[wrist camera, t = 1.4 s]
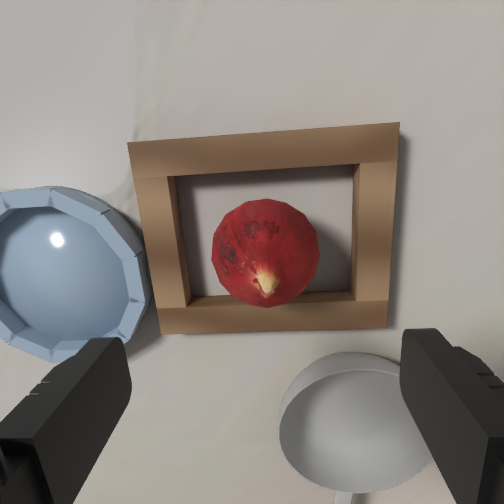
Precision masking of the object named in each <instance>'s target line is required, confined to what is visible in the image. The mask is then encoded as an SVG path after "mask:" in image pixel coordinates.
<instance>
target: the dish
mask: <svg viewBox="0 0 504 504" xmlns="http://www.w3.org/2000/svg"><path fill="white" fill-rule="evenodd" d="M152 290H153V286H152V280H151V275H150V269H149V263H148V258H147V252H146V248H145V246H144V244H143V242H142V240H141V238H140V237H139V235H138V234H137V232H136V231H135V229H134V228H133V227H132V226H131V224H130V223H129V222H128V221H127V220H126V219H125V218H124V217H123V216H122V215H121V214H120V213H119V212H118V211H117V210H115V209H114V208H113V207H111V206H110V205H108V204H107V203H106V202H104V201H102V200H100V199H99V198H97V197H95V196H93V195H90V194H87V193H86V192H83V191H80V190H76V189H72V188H67V187H61V186H60V187H59V186H45V187H37V188H29V189H15V190H9V191H4V192H0V337H1V338H2V339H3V340H4V341H5V342H6V343H8V342H9V344H8V345H11V346H13V347H15V348H18V349H20V350H22V351H25V352H27V353H30V354H32V355H34V356H37V357H39V358H41V359H44V360H46V361H49V362H51V361H52V363H58V362H63V361H65V360H66V359H68V358H69V357H71V356H74V355H75V354H76V353H77V352H78V351H79V350H80V349H81V348H82V347H83V346H84V345H85V344H86V343H87V342H88V341H89V340H90V339H91V338H96V337H119V338H121V340H122V341H123V344H125V343H126V342H128V341H129V340H130V339H131V337H132V336H133V334H134V333H135V332H136V330H137V328H138V326H139V323H140V321H141V319H142V317H143V316H144V314H145V312H146V310H147V308H148V306H149V303H150V300H151V295H152Z"/></svg>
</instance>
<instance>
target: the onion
mask: <svg viewBox="0 0 504 504" xmlns="http://www.w3.org/2000/svg"><path fill="white" fill-rule="evenodd" d="M319 257H320V254H319V247H318V241H317V236H316V231H315V229H314V228H313V226H312V225H311V223H310V222H309V221H308V219H307V218H306V216H305V215H304V214H303V213H301V212H300V211H298V210H297V209H295V208H293V207H292V206H290V205H288V204H287V203H284V202H280V201H276V200H271V199H261V200H255V201H248V202H245V203H244V204H242V205H240V206H239V207H237V208H236V209H234V210H232V211H231V212H229V213H227V214H226V215H225V217H224V218H223V220H222V222H221V223H220V225H219V226H218V228H217V230H216V231H215V233H214V237H213V246H212V259H211V260H212V263H213V265H214V268H215V270H216V273H217V275H218V278H219V281H220V283H221V284H222V285H223V286H224V287H225V288H226V290H227V291H228V292H229V293H230V294H231V295H232V296H233V297H234V298H236V299H238V300H240V301H242V302H244V303H246V304H248V305H252V306H258V307H264V308H270V307H275V306H279V305H283V304H286V303H288V302H289V301H291V300H292V299H294V298H295V297H297V296H298V295H300V294H301V293H302V292H303V291H304V290H305V288H306V287H307V286H308V284H309V283H310V281H311V280H312V279H313V277H314V275H315V272H316V268H317V264H318V260H319Z"/></svg>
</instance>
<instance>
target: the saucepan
mask: <svg viewBox="0 0 504 504" xmlns="http://www.w3.org/2000/svg"><path fill="white" fill-rule="evenodd" d="M399 374H400V366H398V365H396V364H394V363H392V362H391V361H388V360H386V359H384V358H381V357H378V356H375V355H371V354H366V353H360V352H341V353H334V354H331V355H327V356H325V357H322V358H320V359H318V360H316V361H315V362H313V363H312V364H310V365H309V366H308V367H306V368H305V369H304V370H303V371H302V372H301V373H300V374H299V375H297V376H296V378H295V379H294V380H293V382H292V383H291V385H290V386H289V387H288V389H287V390H286V393H285V395H284V397H283V399H282V403H281V407H280V412H279V418H278V441H279V446H280V449H281V452H282V454H283V456H284V458H285V460H286V461H287V462H288V464H289V465H290V466H291V468H292V469H293V470H294V471H296V472H297V473H298V474H299V475H300V476H301V477H303V478H304V479H306V480H307V481H309V482H311V483H313V484H315V485H317V486H319V487H322V488H325V489H329V490H332V491H335V494H334V500H333V504H351V503H352V498H353V493H371V492H376V491H381V490H385V489H388V488H391V487H394V486H397V485H399V484H401V483H403V482H405V481H407V480H409V479H410V478H412V477H413V476H414V475H416V474H417V473H419V472H420V471H421V470H422V469H423V468H424V467H425V466H426V465H427V464H428V463H429V461H430V460H431V458H432V455H431V453H430V451H429V449H428V447H427V445H426V443H425V441H424V439H423V437H422V435H421V433H420V431H419V429H418V427H417V425H416V423H415V421H414V420H413V418H412V416H411V414H410V412H409V410H408V408H407V406H406V404H405V402H404V400H403V397H402V394H401V389H400V382H399Z"/></svg>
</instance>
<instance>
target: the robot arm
mask: <svg viewBox="0 0 504 504" xmlns="http://www.w3.org/2000/svg"><path fill="white" fill-rule="evenodd" d="M399 382H400V389H401V394H402V397H403V400H404V402H405V404H406V406H407V408H408V410H409V412H410V414H411V416H412V418H413V420H414V421H415V423H416V425H417V427H418V429H419V431H420V433H421V435H422V437H423V439H424V441H425V443H426V445H427V447H428V449H429V451H430V453H431V455H432V457H433V458H434V460H435V462H436V464H437V466H438V468H439V470H440V472H441V474H442V476H443V478H444V480H445V482H446V484H447V486H448V488H449V490H450V492H451V493H452V495H453V497H454V499H455V501H456V503H457V504H504V383H503V382H502V381H501V380H500V379H499V378H498V377H497V376H494V373H493V372H492V371H491V370H490V368H489V367H488V366H487V365H486V364H485V363H484V362H483V361H482V360H481V359H480V358H478V357H476V356H475V355H473V354H471V353H470V352H468V351H466V350H465V349H463V348H461V347H453V346H452V345H451V344H450V343H449V342H448V341H447V340H446V339H445V337H444V336H443V335H442V334H441V333H440V332H439V331H438V330H437V329H435V328H424V329H405V330H404V332H403V336H402V348H401V361H400V374H399ZM131 390H132V382H131V377H130V372H129V368H128V363H127V358H126V353H125V349H124V344H123V341H122V340H121V338H119V337H96V338H91V339H90V340H89V341H88V342H87V343H86V344H85V345H84V346H83V347H82V348H81V349H80V350H79V351H78V352H77V353H76V354H75V355H74V356H71V357H69V358H68V359H66V360H65V361H63V362H62V363H60V364H59V365H57V366H55V367H54V368H53V369H52V370H51V371H50V372H49V373H48V374H47V375H46V376H45V377H44V378H43V379H42V380H41V383H40V384H37V385H36V386H35V387H34V388H33V390H32V391H31V392H30V394H29V396H26V397H25V398H24V399H23V400H22V401H21V402H20V403H19V404H18V405H17V406H16V407H15V408H14V409H13V410H12V411H11V412H10V413H9V414H8V415H7V416H6V417H5V418H4V419H3V420H2V421H1V422H0V504H73V502H74V500H75V498H76V497H77V495H78V493H79V491H80V490H81V488H82V486H83V484H84V482H85V481H86V479H87V477H88V475H89V473H90V472H91V470H92V468H93V466H94V464H95V463H96V461H97V459H98V457H99V455H100V454H101V452H102V450H103V448H104V446H105V445H106V443H107V441H108V439H109V437H110V436H111V434H112V432H113V430H114V428H115V427H116V425H117V423H118V421H119V419H120V418H121V416H122V414H123V412H124V410H125V409H126V407H127V405H128V403H129V400H130V396H131Z"/></svg>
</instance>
